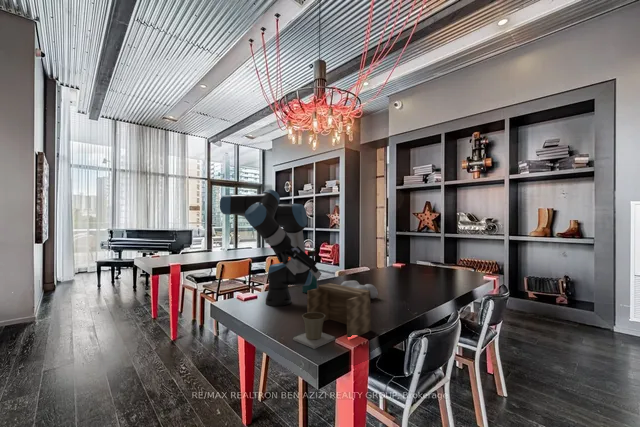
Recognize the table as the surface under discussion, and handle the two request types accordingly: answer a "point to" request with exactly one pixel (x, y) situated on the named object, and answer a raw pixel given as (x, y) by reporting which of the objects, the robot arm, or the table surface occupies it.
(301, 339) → the tile
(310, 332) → the flower pot
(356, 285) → the torso sculpture
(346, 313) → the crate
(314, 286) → the dark green bottle
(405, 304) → the table surface
